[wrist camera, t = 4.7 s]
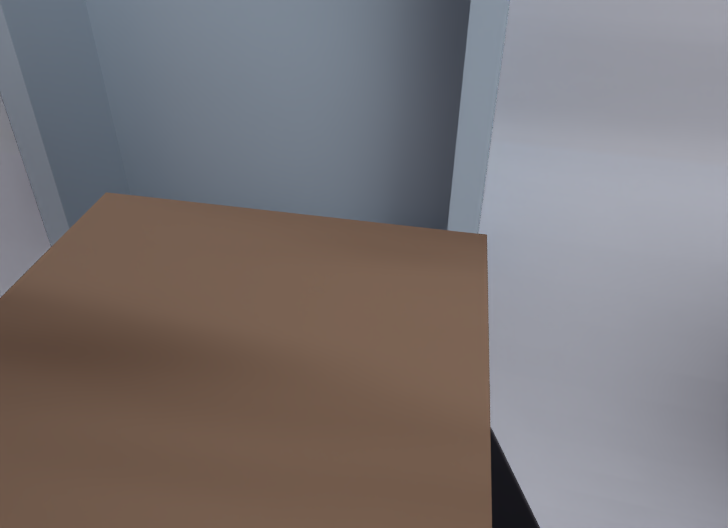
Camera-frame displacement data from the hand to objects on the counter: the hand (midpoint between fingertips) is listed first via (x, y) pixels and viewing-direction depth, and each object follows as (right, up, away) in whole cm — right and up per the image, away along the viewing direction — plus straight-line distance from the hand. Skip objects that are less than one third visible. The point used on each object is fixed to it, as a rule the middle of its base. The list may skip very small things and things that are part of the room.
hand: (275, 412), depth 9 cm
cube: (0, +1, +1) cm, 1 cm away
